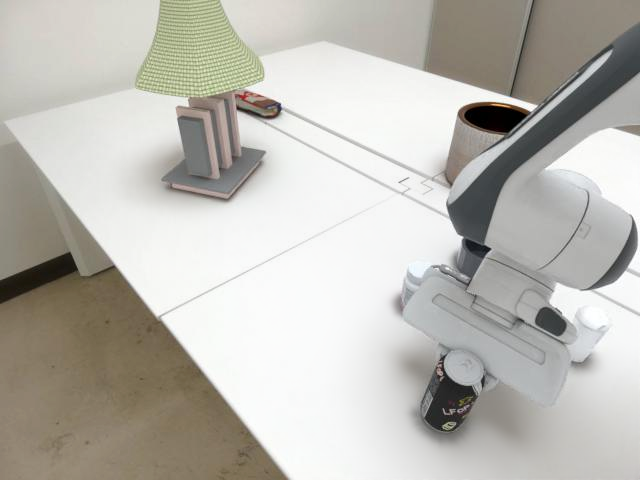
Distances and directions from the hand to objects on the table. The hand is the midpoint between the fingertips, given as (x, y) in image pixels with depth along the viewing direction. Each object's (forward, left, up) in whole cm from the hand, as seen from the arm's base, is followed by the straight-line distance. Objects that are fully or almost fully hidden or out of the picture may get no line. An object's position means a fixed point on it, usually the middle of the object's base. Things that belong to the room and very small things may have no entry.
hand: (451, 392), depth 57 cm
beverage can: (+1, -1, -6) cm, 6 cm away
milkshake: (-12, -21, -7) cm, 25 cm away
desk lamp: (+69, -29, -7) cm, 75 cm away
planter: (+16, -63, -7) cm, 65 cm away
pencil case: (+87, -63, -7) cm, 107 cm away
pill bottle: (+12, -17, -7) cm, 21 cm away
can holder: (+6, -33, -6) cm, 34 cm away
